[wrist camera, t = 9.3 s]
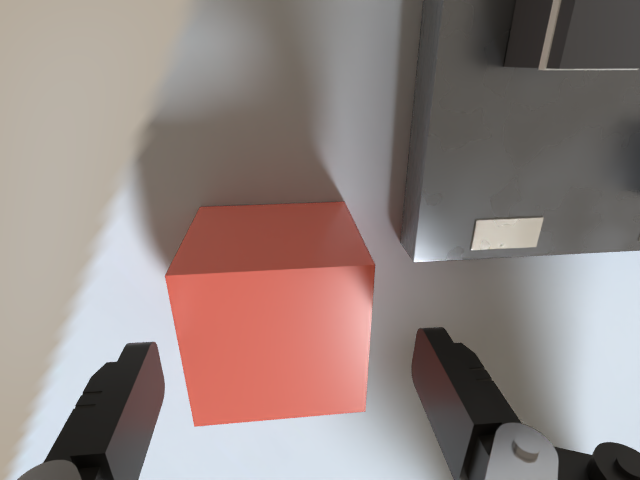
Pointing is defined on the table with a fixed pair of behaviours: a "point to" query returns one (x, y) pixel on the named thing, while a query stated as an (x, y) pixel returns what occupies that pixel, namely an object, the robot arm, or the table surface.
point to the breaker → (575, 35)
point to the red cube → (273, 312)
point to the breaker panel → (515, 147)
